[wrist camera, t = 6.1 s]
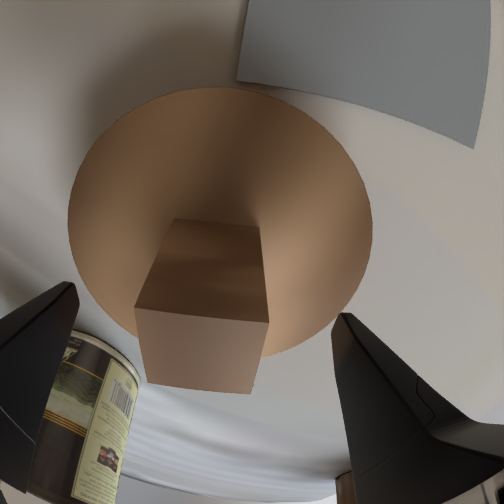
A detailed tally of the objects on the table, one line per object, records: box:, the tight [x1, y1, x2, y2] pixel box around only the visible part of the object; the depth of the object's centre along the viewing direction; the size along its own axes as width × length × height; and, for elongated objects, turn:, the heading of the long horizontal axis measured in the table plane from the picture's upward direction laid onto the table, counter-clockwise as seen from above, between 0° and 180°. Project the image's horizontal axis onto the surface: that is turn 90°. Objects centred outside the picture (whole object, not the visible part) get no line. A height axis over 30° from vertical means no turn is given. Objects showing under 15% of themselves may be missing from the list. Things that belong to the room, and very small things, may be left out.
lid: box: [68, 87, 372, 394], centre depth 10 cm, size 13×13×6 cm
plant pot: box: [335, 471, 357, 504], centre depth 37 cm, size 16×16×16 cm
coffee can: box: [26, 330, 140, 504], centre depth 16 cm, size 10×10×14 cm
